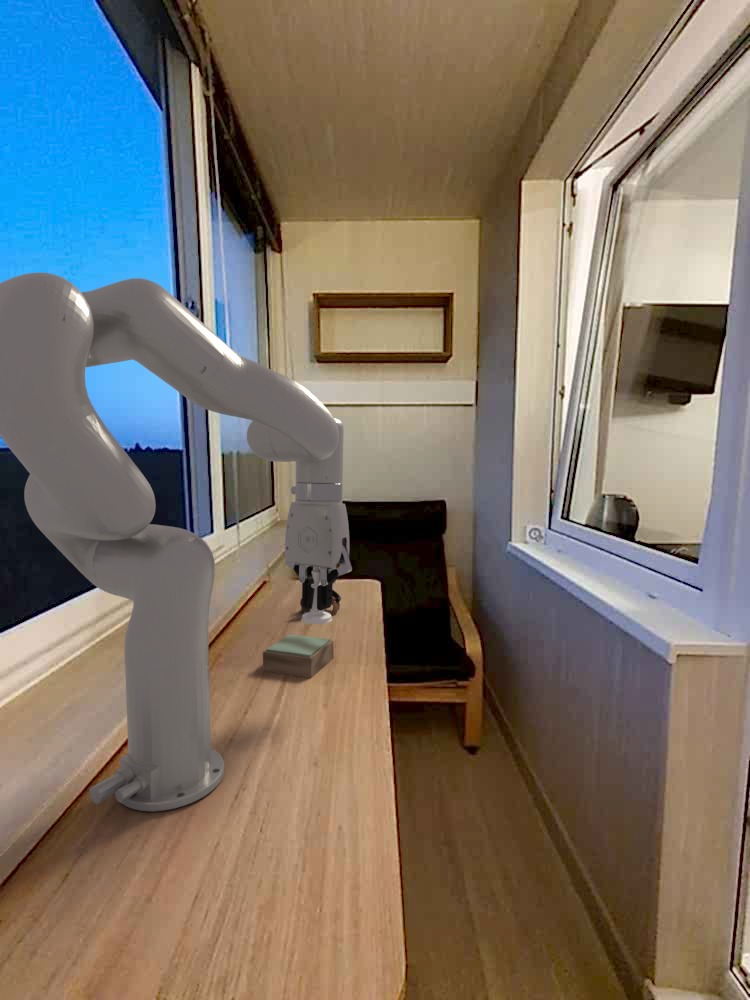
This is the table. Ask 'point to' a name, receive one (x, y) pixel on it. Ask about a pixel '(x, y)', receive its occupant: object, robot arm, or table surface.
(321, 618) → the chess piece
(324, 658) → the pedestal
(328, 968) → the table surface
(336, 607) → the brown curved open ring
